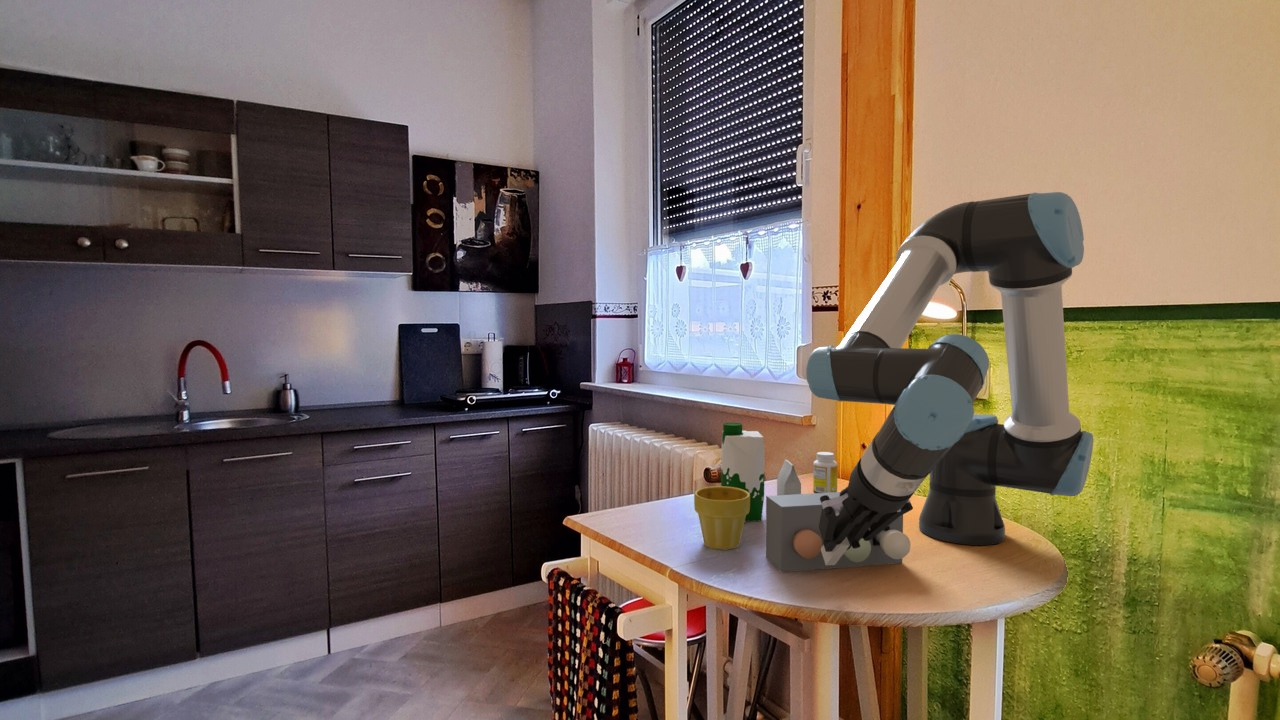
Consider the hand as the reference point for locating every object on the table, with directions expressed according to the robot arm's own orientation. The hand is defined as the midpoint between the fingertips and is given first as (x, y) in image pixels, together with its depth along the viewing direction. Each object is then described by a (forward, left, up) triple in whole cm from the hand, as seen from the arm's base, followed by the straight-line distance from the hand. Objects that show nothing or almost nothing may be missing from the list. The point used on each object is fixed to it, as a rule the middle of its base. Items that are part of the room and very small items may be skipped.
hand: (827, 556), depth 99 cm
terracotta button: (+2, -9, -3) cm, 10 cm away
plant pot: (+15, -21, -6) cm, 26 cm away
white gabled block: (-1, -48, -6) cm, 48 cm away
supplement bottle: (-11, -58, -6) cm, 59 cm away
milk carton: (+10, -39, -6) cm, 40 cm away
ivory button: (-12, -10, -3) cm, 16 cm away
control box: (-4, -14, -6) cm, 15 cm away
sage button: (-5, -8, -3) cm, 10 cm away
